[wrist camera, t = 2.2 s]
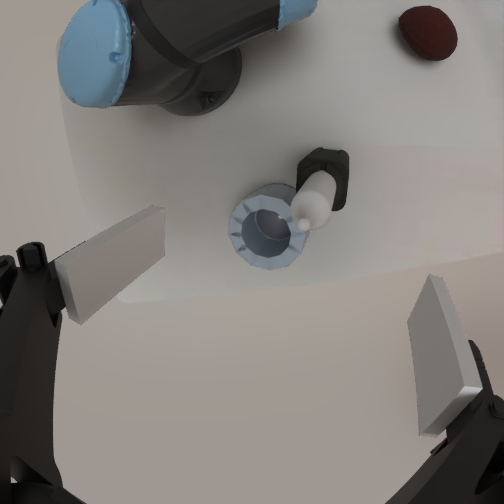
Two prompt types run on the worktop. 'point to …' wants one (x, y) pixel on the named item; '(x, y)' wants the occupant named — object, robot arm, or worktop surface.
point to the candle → (320, 187)
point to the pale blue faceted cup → (267, 228)
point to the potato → (428, 32)
